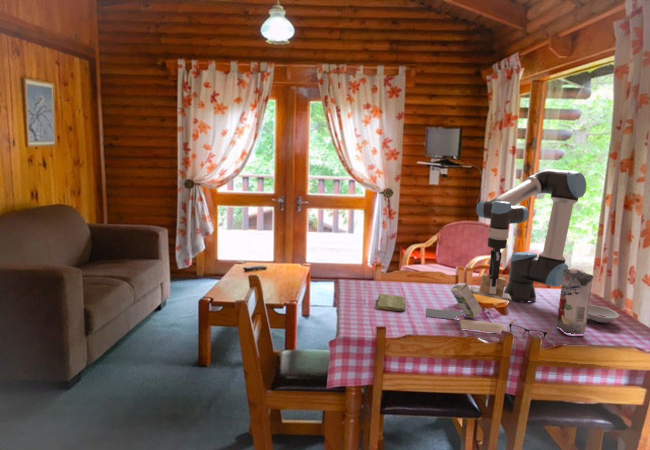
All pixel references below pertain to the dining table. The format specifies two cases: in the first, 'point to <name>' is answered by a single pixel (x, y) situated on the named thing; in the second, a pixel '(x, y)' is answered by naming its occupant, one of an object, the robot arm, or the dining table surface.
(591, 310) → the dish
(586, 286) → the juice carton
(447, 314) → the mat
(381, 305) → the washcloth
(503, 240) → the robot arm
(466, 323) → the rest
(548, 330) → the eyeglasses
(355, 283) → the dining table surface
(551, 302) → the dining table surface
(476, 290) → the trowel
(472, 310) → the syrup box
